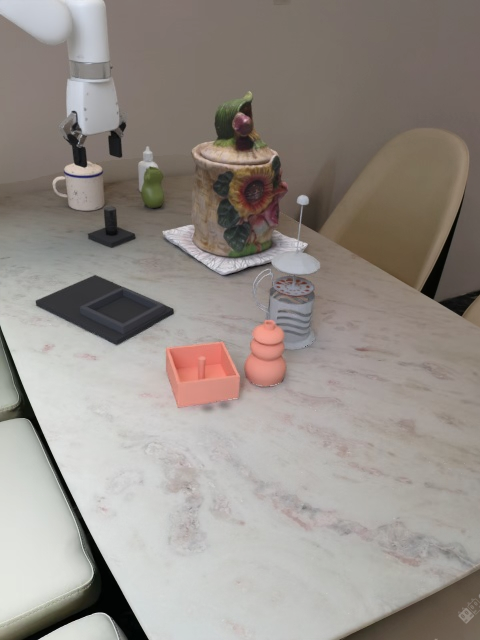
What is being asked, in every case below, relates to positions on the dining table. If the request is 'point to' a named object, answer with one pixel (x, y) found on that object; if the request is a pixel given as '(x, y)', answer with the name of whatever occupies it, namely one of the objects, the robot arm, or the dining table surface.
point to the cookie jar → (235, 197)
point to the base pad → (105, 308)
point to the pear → (152, 188)
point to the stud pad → (112, 239)
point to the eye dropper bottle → (145, 165)
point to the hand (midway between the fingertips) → (98, 161)
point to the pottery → (224, 367)
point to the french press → (292, 294)
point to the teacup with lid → (83, 186)
